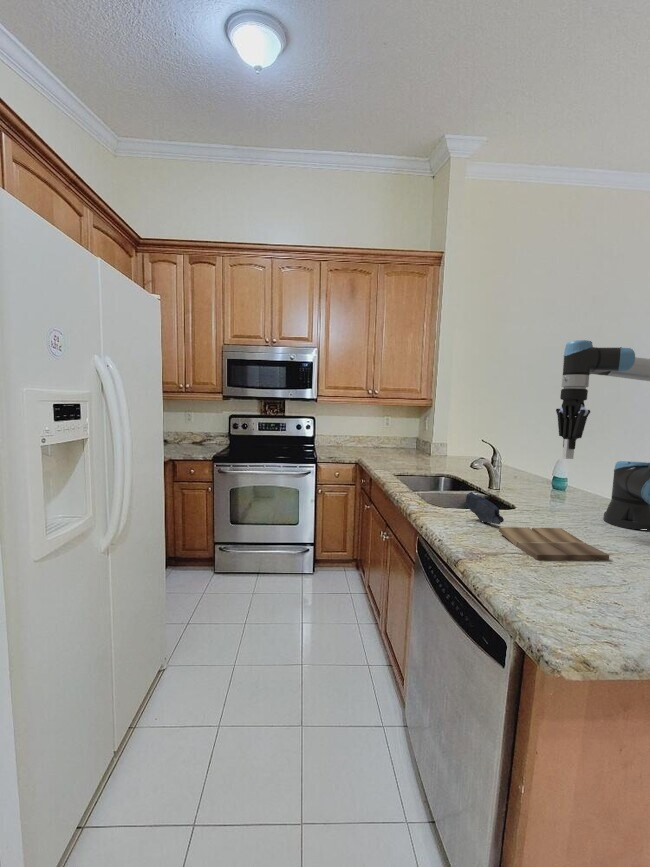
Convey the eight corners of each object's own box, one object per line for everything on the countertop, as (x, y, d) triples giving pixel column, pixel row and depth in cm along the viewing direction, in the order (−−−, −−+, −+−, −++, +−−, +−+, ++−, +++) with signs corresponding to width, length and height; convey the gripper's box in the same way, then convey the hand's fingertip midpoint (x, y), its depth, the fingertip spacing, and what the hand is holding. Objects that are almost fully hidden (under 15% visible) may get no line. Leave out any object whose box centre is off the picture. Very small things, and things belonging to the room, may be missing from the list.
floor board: (584, 547, 114) (584, 542, 114) (608, 560, 105) (609, 554, 105) (517, 547, 112) (517, 541, 112) (536, 560, 103) (537, 554, 103)
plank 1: (527, 531, 123) (528, 527, 123) (547, 546, 113) (548, 541, 113) (498, 531, 122) (499, 526, 122) (516, 546, 112) (517, 541, 112)
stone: (506, 526, 131) (508, 497, 130) (501, 530, 127) (503, 500, 126) (466, 516, 140) (467, 490, 139) (459, 520, 135) (461, 492, 135)
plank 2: (560, 532, 124) (560, 527, 124) (583, 546, 114) (583, 542, 114) (531, 531, 123) (532, 527, 123) (552, 546, 113) (552, 541, 113)
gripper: (550, 388, 133) (544, 455, 135) (578, 387, 120) (571, 461, 123) (570, 389, 134) (564, 455, 136) (600, 388, 121) (593, 461, 123)
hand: (567, 458), depth 129 cm, fingers closed
